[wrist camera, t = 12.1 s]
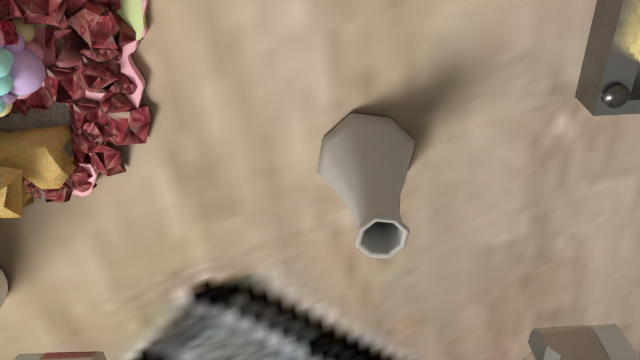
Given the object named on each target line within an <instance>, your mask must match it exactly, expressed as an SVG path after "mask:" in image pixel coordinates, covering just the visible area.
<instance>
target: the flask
mask: <svg viewBox="0 0 640 360" xmlns="http://www.w3.org/2000/svg"><path fill="white" fill-rule="evenodd" d="M414 146H415V141H414V140H413V139H412V138H411V137H410V136H409V135H408V134H407V133H406V132H405V131H404V130H403V129H402V128H401V127H400V126H399V125H398V124H396V123H395V122H394V121H393V120H392V119H391V118H390V117H381V116H372V115H363V114H354V113H351V114H349V115H348V116H347V117H346V118H345V119H344V120H343V121H342V122H341V123H339V124H338V125H337V126H336V127H335V128H334V129H333V130H332V131H330V132H329V133H328V134H327V135H326V136H325V137H324V138H323V139H322V145H321V151H320V157H319V164H318V170H317V172H318V173H319V174H320V175H321V176H322V178H323V179H324V180H325V181H326V182H327V183H328V184H329V185H330V186H331V187H332V188H333V189H334V191H335V192H336V193H337V194H338V195H339V197H340V198H341V199H342V200H343V201H344V203H345V204H346V205H347V206H348V208H349V209H350V211H351V213H352V215H353V217H354V219H355V221H356V223H357V227H358V232H357V237H356V241H355V246H356V247H357V248H359V249H360V250H361V251H362V252H364V253H365V254H366V255H368V256H369V257H376V258H388V259H390V258H391V257H392V256H394V255H395V254H396V253H398V252H399V251H400V250H402V249H403V248H404V247H405V245H406V241H407V238H408V234H409V228H408V227H407V226H406V225H405V224H404V223H403V222H402V221H401V216H400V194H401V191H402V188H403V185H404V182H405V179H406V176H407V172H408V168H409V164H410V161H411V157H412V153H413V149H414Z"/></svg>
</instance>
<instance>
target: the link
mask: <svg viewBox="0 0 640 360" xmlns="http://www.w3.org/2000/svg"><path fill="white" fill-rule="evenodd" d="M575 97H576V98H577V99H578V100H579V101H580V102H581V103H582V104H583V105H584V106H585V108H586V109H587V110H588V111H589V112H590V113H591V114H592V115H593V116H599V115H619V114H640V0H597V4H596V8H595V13H594V17H593V21H592V26H591V30H590V34H589V39H588V43H587V47H586V52H585V56H584V60H583V65H582V69H581V73H580V78H579V82H578V86H577V91H576V95H575Z"/></svg>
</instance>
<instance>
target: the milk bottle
mask: <svg viewBox="0 0 640 360" xmlns="http://www.w3.org/2000/svg"><path fill="white" fill-rule="evenodd" d="M7 294H8V283H7V279H6V277H5V274H4V272H3V271H2V270H1V268H0V309H1V307H2V305H3V303H4V302H5V300H6V298H7Z"/></svg>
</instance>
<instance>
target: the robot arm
mask: <svg viewBox="0 0 640 360" xmlns="http://www.w3.org/2000/svg"><path fill="white" fill-rule="evenodd" d="M528 343H529V345H530V348H531V350H532V351H531V352H530V353H529V354H528V355H527V356H525V357H524V360H640V359H639V357H638V356H637V354H636V353H635V351H634V350H633V348H632V346H631V345H630V343H629V342H628V340H627V339H626V337H625V335H624V334H623V332H622V331H621V329H620V328H619V327H618V326H616V325H615V324H605V325H587V326H585V325H579V326H563V327H547V328H534V329H533V330H532V332H531V333H530V336H529V340H528ZM14 360H106V357H105V355H104V353H103V352H98V351H97V352H57V353H31V354H19V355H18V356H17V357H16V358H15V359H14Z"/></svg>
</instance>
